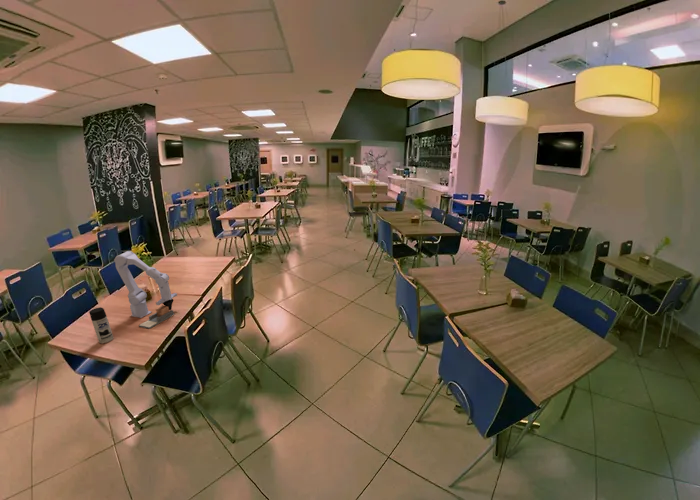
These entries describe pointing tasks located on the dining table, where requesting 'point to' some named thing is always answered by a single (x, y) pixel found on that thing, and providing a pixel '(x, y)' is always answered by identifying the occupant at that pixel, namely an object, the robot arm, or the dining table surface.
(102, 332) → the spray can
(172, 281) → the dining table surface
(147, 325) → the chute
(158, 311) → the block
